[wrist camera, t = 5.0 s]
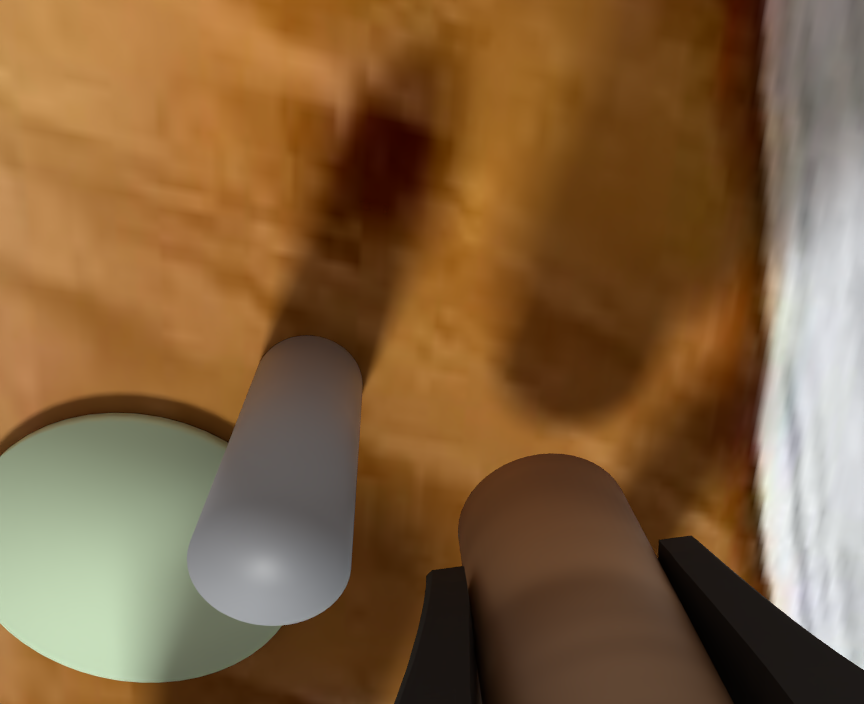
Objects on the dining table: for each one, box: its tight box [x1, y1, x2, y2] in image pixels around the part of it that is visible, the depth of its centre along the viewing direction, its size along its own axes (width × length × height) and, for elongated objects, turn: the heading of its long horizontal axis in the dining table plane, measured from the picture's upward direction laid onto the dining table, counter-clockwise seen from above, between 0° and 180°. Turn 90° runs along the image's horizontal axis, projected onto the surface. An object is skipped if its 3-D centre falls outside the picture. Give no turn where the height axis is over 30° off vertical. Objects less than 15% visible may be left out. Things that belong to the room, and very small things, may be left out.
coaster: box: [0, 413, 282, 683], centre depth 17 cm, size 8×8×1 cm
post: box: [187, 335, 363, 626], centre depth 13 cm, size 2×2×6 cm
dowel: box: [458, 454, 734, 704], centre depth 12 cm, size 4×4×7 cm
